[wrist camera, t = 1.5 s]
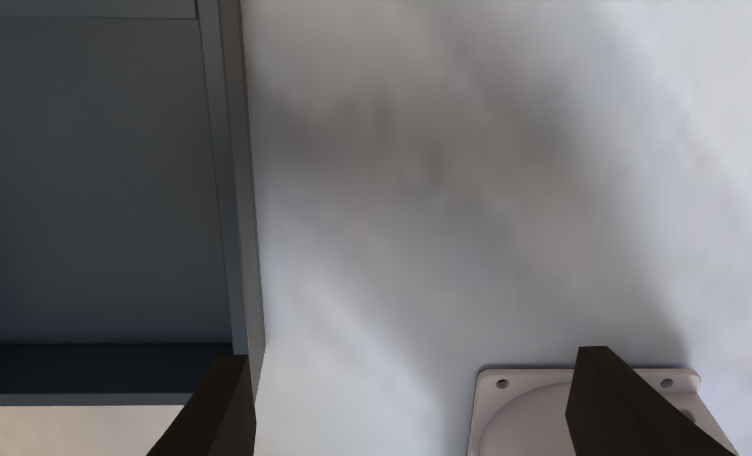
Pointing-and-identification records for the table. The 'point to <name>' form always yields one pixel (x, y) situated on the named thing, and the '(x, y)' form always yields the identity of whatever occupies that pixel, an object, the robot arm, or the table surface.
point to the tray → (124, 201)
